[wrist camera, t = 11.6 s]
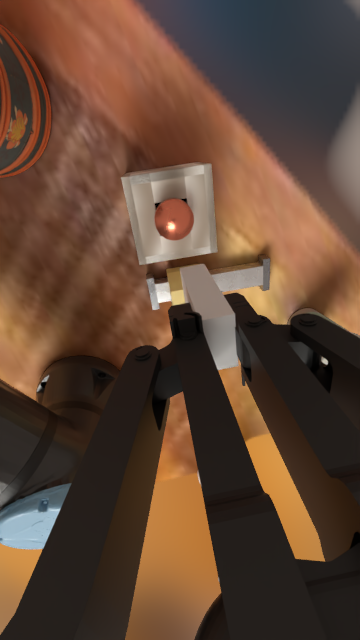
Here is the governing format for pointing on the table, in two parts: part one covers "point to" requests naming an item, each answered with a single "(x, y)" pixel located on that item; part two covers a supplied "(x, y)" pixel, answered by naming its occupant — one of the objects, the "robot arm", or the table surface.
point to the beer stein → (21, 108)
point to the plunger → (174, 219)
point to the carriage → (176, 285)
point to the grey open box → (163, 185)
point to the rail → (219, 279)
